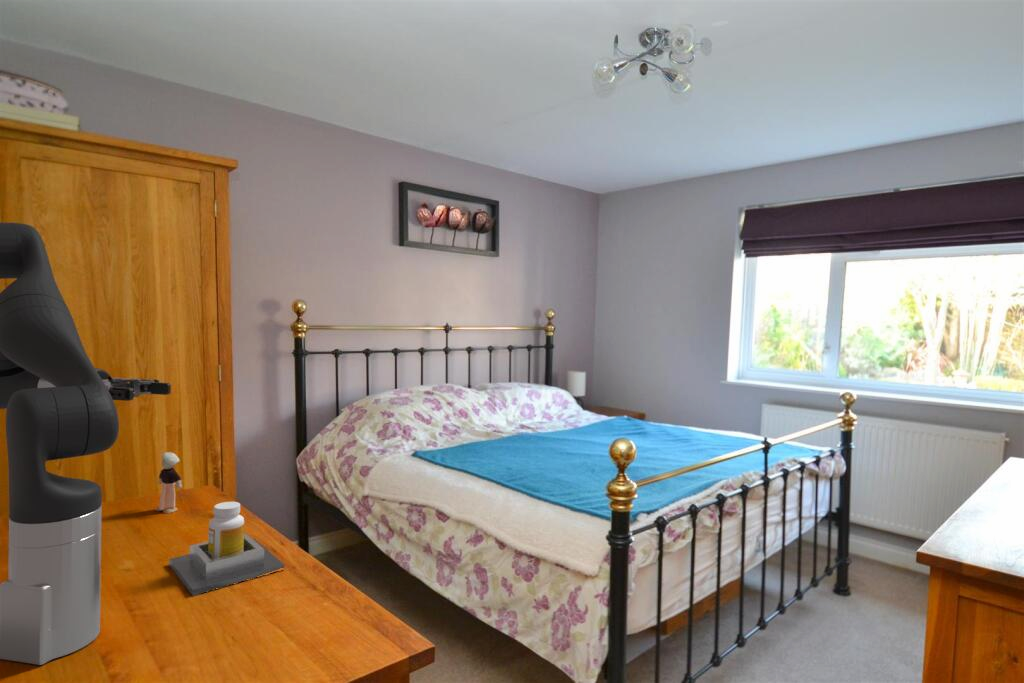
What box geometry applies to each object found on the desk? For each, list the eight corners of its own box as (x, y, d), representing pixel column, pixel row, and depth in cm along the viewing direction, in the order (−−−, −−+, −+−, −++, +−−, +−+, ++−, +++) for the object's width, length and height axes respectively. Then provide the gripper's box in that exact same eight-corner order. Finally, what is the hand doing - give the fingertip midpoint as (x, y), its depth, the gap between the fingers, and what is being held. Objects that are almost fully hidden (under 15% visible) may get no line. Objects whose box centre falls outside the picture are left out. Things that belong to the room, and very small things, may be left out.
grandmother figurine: (146, 511, 119) (147, 452, 119) (162, 505, 123) (163, 448, 123) (174, 516, 117) (175, 456, 117) (189, 510, 121) (191, 452, 120)
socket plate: (284, 570, 95) (284, 550, 95) (192, 596, 85) (193, 573, 85) (254, 544, 105) (254, 525, 105) (169, 564, 95) (169, 544, 95)
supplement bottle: (249, 556, 97) (251, 501, 97) (232, 569, 92) (233, 511, 92) (219, 553, 98) (221, 499, 98) (200, 567, 92) (202, 509, 92)
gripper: (38, 370, 98) (118, 374, 95) (109, 364, 112) (180, 368, 109) (38, 412, 98) (118, 418, 96) (108, 401, 112) (180, 406, 110)
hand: (151, 391), depth 103 cm, fingers open, 8 cm apart
